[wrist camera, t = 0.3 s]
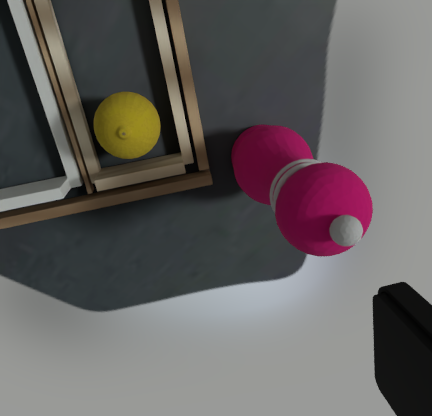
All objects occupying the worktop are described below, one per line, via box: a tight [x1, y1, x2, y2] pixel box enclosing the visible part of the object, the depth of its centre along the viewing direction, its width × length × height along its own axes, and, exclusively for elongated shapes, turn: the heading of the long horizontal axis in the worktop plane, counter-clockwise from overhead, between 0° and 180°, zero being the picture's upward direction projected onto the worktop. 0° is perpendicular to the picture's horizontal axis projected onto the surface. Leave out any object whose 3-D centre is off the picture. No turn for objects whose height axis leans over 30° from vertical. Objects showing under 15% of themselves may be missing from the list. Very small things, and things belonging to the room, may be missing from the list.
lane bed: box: [0, 0, 213, 229], centre depth 33 cm, size 20×24×2 cm
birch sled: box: [34, 0, 194, 191], centre depth 29 cm, size 21×10×9 cm, turn 10°
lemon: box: [94, 92, 161, 159], centre depth 32 cm, size 6×6×8 cm
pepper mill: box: [231, 125, 373, 256], centre depth 29 cm, size 7×7×20 cm
